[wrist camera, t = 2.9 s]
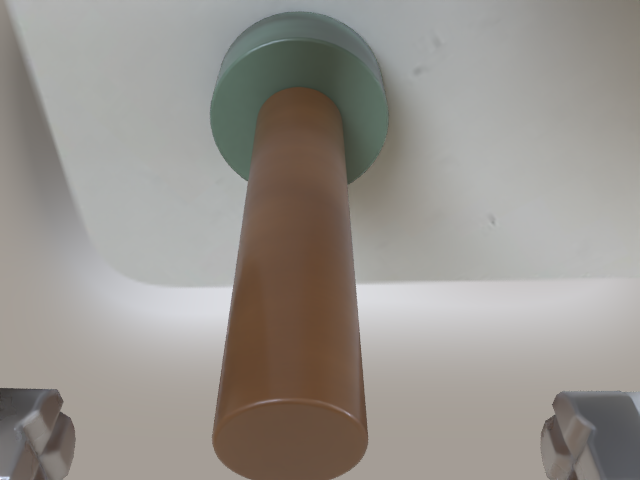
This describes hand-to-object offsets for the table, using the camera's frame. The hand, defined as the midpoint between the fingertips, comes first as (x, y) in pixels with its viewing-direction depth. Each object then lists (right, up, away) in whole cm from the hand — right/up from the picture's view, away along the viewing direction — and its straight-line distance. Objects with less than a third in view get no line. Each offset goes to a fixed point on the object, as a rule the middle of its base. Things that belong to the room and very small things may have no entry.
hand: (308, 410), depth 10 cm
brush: (0, +7, +8) cm, 11 cm away
